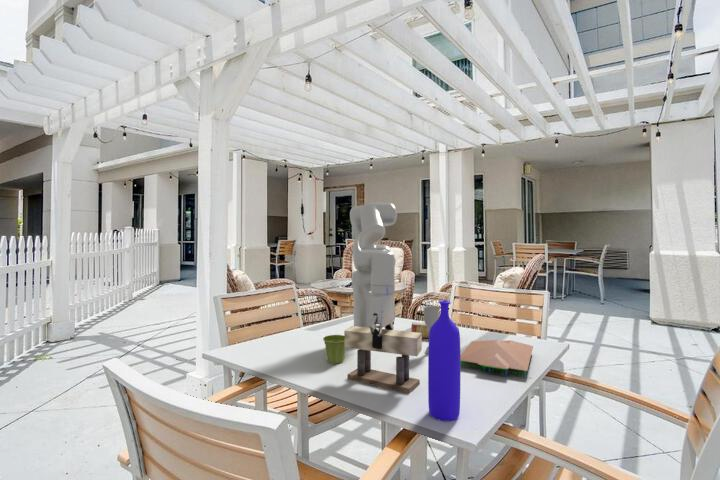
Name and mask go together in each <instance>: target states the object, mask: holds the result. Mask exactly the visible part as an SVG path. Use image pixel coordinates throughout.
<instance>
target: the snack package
mask: <svg viewBox="0 0 720 480" xmlns="http://www.w3.org/2000/svg"><path fill="white" fill-rule="evenodd" d="M455 325H456V324H455ZM456 327H457V328H458V330H459V331H460V328H459V326H458V325H456ZM410 332H417V333H422V339H429V332H430V331H429V330H428V329H427V326H426V324H425V322H418V321H412V322H411V330H410Z"/></svg>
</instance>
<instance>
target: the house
mask: <svg viewBox="0 0 720 480" xmlns="http://www.w3.org/2000/svg"><path fill="white" fill-rule="evenodd" d="M533 349H534V345H530V344H526V343H522V342H519V341H514V340H498V339H497V340H496V339H495V340H493V339H491V340H472V341H470V343H469V344H468V345H467V347H466V348H465V349H464V350H463V352H462V353H460V368H461V366H462V368H464V366H467V363H469V364H468V367H469V369H471V368H470V366H471V367H473V364H476V365H475V367H476V371H477V368H478V366H479V371H480V372H481V371H482V372H484V371H485V369H487V368H488V374H490V373H491V372H493V369H496V370H501V374H504V371H505V376H508V373H510V369H511V370H513V373H514V375H513V376H514V377H516V376H515V374H516V372H515V370H516V371H521V372H519V375H521V374H522V376H523V379H525V378H526V374H527V371H528V370H529V365H530V361H531V357H532V353H533ZM470 363H471V364H470ZM463 365H464V366H463ZM477 365H478V366H477Z"/></svg>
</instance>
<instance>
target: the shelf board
mask: <svg viewBox="0 0 720 480" xmlns="http://www.w3.org/2000/svg"><path fill="white" fill-rule="evenodd" d="M376 329H377V330H378V331H379V328H376ZM343 336H344V347H345V349H354V350H359V349H361V350H369V351H371V352H378V353H386V354H394V355H401V356H402V355H409V357H410V356H411V357H418V356H419V354H420V353H421V352H422V350H423V349H422V347H423V346H422V343H423V341H422V339H423V338H422V333H417V332H411V331H406V330H405V331H404V330H395V329H393V330H387V329H385V328H382V332H381V336H382V349H377V348H373V347H372V335H371V330H370V328H367V327H358V326H354V325H352V326H350V327H348V328H347V329H344V335H343Z"/></svg>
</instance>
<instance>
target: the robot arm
mask: <svg viewBox="0 0 720 480" xmlns="http://www.w3.org/2000/svg"><path fill="white" fill-rule="evenodd" d="M397 219H398V211H397V207H396V206H395V205H394V203H392V202H368V203H364V204H362V205H356V206H353V207H352V208H351V209H350V211H349V220H350V224H351V226H352V228H353V232H354V241H353V244H352V259H353V266H354V269H355V271H354V272H353V273H352V275H351V286H352V295H353V326H358V327H367V328H370V330H371V335H372V347H373V348H377V349H382V336H381V332H382V329H383V328H384V329H387V330H395V328H394V327H395V326H394V325H395V319H396V310H395V309H396V307H395V306H396V305H395V294H396V293H395V292H396V289H395V288H396V285H395V284H396V283H395V281H396V280H395V274H396V273H395V267H396V263H397V261H396V255H395V253H394V252H393V251H392V250H391V249H390V246H388V245H385V244H376V243H377V242H379V241H381V240H382V239H384V237H385V235H386V227H389V226H393V225H394V224H395V223H396V222H397ZM376 328H377V329H379V331H378V330H377V329H376Z"/></svg>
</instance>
